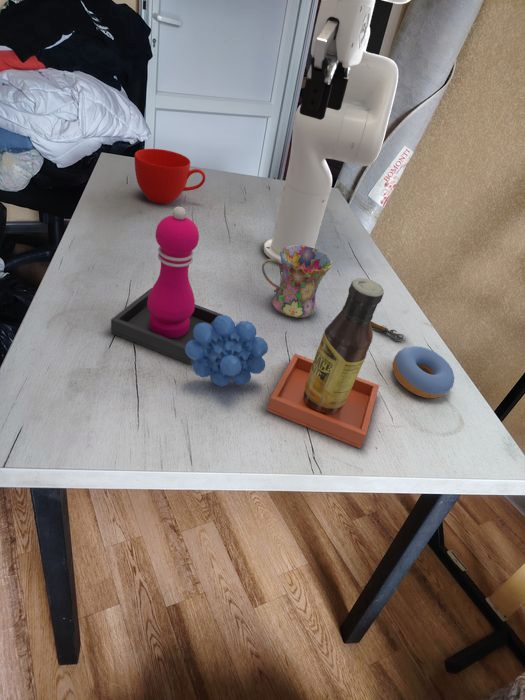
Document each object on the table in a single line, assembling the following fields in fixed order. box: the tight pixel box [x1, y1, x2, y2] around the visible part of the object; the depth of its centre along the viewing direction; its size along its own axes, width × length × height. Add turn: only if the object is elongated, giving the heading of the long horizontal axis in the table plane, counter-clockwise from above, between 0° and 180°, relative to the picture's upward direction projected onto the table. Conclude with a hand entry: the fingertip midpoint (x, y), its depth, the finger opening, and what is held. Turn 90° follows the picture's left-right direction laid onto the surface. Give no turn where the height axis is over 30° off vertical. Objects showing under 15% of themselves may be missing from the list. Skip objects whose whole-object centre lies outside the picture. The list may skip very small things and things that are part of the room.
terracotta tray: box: [266, 353, 380, 449], centre depth 69 cm, size 12×14×3 cm
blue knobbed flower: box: [185, 314, 269, 388], centre depth 65 cm, size 12×7×12 cm, turn 102°
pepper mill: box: [147, 206, 200, 338], centre depth 71 cm, size 7×7×20 cm
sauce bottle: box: [304, 277, 385, 414], centre depth 63 cm, size 7×6×20 cm
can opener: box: [370, 320, 406, 342], centre depth 88 cm, size 9×2×1 cm, turn 60°
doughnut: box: [392, 345, 455, 399], centre depth 77 cm, size 10×10×5 cm
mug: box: [261, 245, 333, 319], centre depth 86 cm, size 12×9×11 cm
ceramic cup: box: [134, 148, 206, 205], centre depth 116 cm, size 13×17×10 cm
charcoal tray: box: [110, 287, 224, 365], centre depth 76 cm, size 12×14×3 cm
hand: (320, 111), depth 64 cm, fingers open, 9 cm apart
